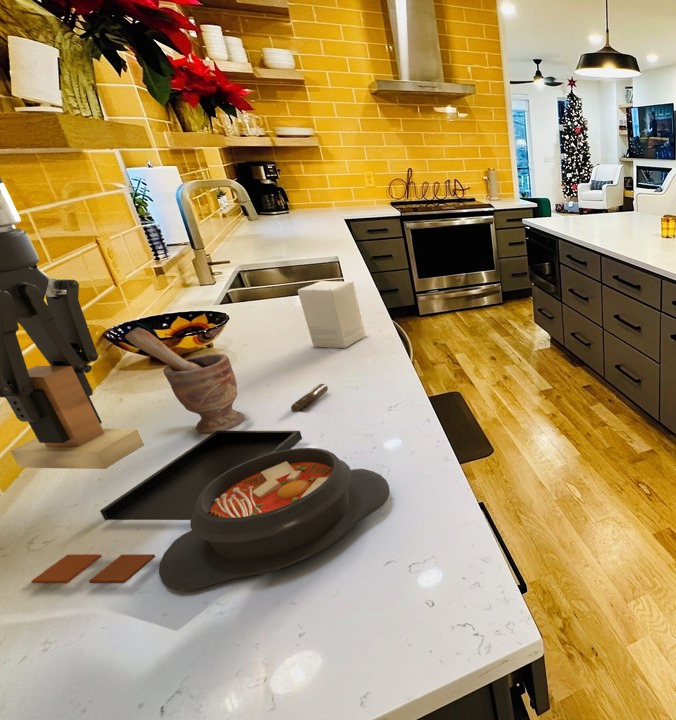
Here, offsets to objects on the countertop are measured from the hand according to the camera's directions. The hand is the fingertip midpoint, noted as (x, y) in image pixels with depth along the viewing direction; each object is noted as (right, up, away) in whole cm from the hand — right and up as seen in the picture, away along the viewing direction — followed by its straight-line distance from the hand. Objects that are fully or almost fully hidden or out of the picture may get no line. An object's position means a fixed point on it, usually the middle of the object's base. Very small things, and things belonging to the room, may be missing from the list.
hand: (71, 432), depth 59 cm
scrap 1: (0, -17, 0) cm, 17 cm away
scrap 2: (+6, -17, 0) cm, 18 cm away
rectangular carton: (-10, +13, +70) cm, 72 cm away
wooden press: (0, -3, +1) cm, 3 cm away
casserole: (+21, -14, +7) cm, 26 cm away
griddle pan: (+3, -6, +26) cm, 27 cm away
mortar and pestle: (-9, -4, +30) cm, 32 cm away
